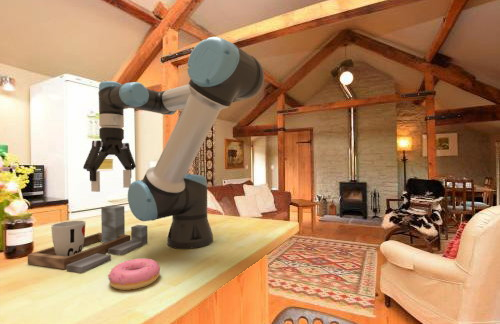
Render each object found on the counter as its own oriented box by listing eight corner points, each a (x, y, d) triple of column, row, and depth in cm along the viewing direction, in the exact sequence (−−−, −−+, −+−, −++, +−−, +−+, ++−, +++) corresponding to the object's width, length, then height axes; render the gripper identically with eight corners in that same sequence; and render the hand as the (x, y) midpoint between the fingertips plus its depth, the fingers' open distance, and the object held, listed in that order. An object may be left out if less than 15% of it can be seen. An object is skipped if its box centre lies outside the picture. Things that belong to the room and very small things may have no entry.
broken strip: (148, 243, 89) (148, 225, 89) (81, 273, 65) (81, 249, 65) (136, 242, 91) (136, 224, 91) (66, 271, 67) (66, 247, 67)
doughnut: (165, 284, 59) (165, 265, 59) (110, 298, 53) (110, 278, 53) (154, 268, 68) (154, 252, 68) (106, 279, 62) (105, 261, 62)
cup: (68, 264, 71) (68, 227, 71) (44, 262, 73) (43, 226, 73) (92, 254, 79) (92, 221, 79) (69, 252, 81) (69, 220, 81)
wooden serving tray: (133, 241, 91) (133, 206, 91) (64, 269, 68) (63, 222, 68) (102, 238, 95) (102, 205, 95) (27, 263, 72) (27, 219, 72)
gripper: (129, 132, 104) (130, 185, 104) (69, 123, 81) (70, 193, 81) (145, 131, 102) (145, 186, 102) (88, 122, 78) (89, 193, 78)
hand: (112, 189), depth 91 cm, fingers open, 13 cm apart
